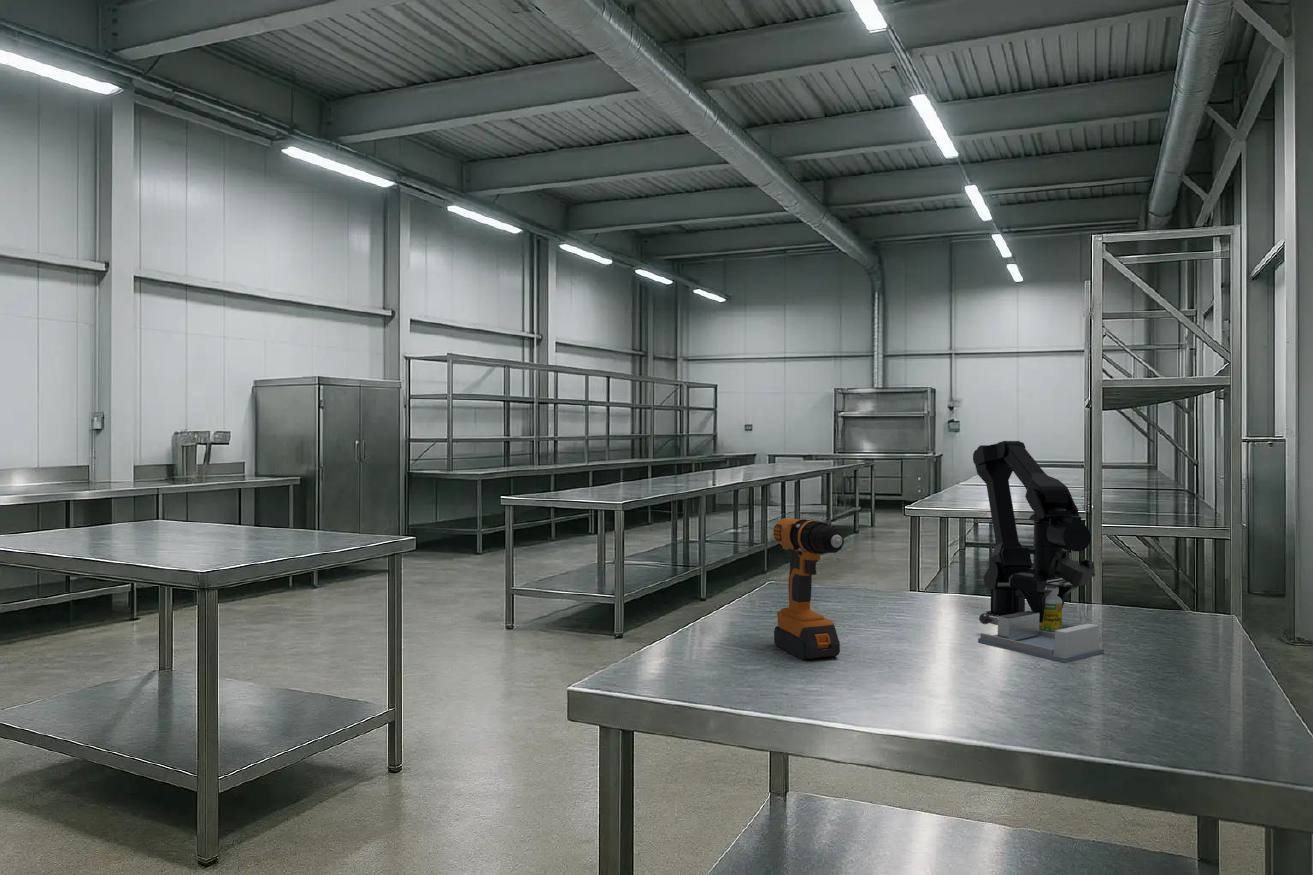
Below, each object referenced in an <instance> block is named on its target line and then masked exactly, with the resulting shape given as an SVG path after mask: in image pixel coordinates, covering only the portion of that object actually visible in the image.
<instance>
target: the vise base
mask: <svg viewBox="0 0 1313 875" xmlns="http://www.w3.org/2000/svg"><path fill="white" fill-rule="evenodd" d="M1099 632H1100V626H1099V625H1097V624H1093V623H1084V624H1079V625H1075V626H1069V627H1067V628H1066V627H1064V628H1062V629H1060V630H1055V633H1052V632H1047V631H1042V630H1039V635H1038V636H1033V637H1028V638H1023V639H1019V640H1010V639H1006V638H1002V637H998V633H997V634H993V635H992V634H989V633H983V632H982V633H980V637H979V638H977V643H980V644H984V645H987V646H993V647H996V648H1000V649H1004V650H1008V651H1013V652H1017V653H1022V654H1027V655H1030V656H1033V657H1034V656H1035V657H1037V658H1038V657H1039V658H1042V659H1047V660H1052V661H1055V662H1060V663H1064V664H1065V663H1069V662H1073V661H1077V660H1081V659H1086V658H1089V657H1093V656H1097V655H1101V654H1105V649H1104V648H1101V647H1100V646H1099V644H1100V643H1099V641H1100V640H1099V638H1100V636H1099V634H1100V633H1099Z"/></svg>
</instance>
